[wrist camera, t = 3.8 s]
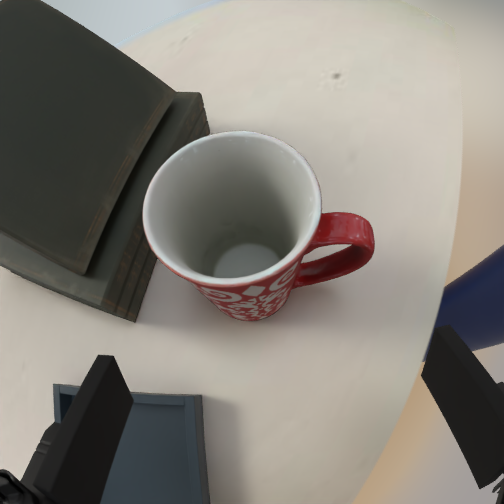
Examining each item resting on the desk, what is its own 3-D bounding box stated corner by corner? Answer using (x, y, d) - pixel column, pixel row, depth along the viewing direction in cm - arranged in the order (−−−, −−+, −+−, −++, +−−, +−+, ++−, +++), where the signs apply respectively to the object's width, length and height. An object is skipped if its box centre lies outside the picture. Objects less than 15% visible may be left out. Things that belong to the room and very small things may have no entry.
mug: (187, 321, 26) (116, 266, 14) (211, 228, 29) (173, 125, 17) (334, 346, 24) (394, 312, 12) (344, 248, 28) (390, 150, 15)
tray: (201, 394, 23) (194, 396, 21) (217, 560, 16) (213, 573, 14) (68, 384, 24) (52, 383, 22) (88, 535, 17) (76, 543, 15)
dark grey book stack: (135, 323, 26) (-118, 148, 3) (11, 272, 29) (-135, 159, 6) (211, 132, 35) (166, -73, 12) (88, 127, 38) (15, -10, 15)
